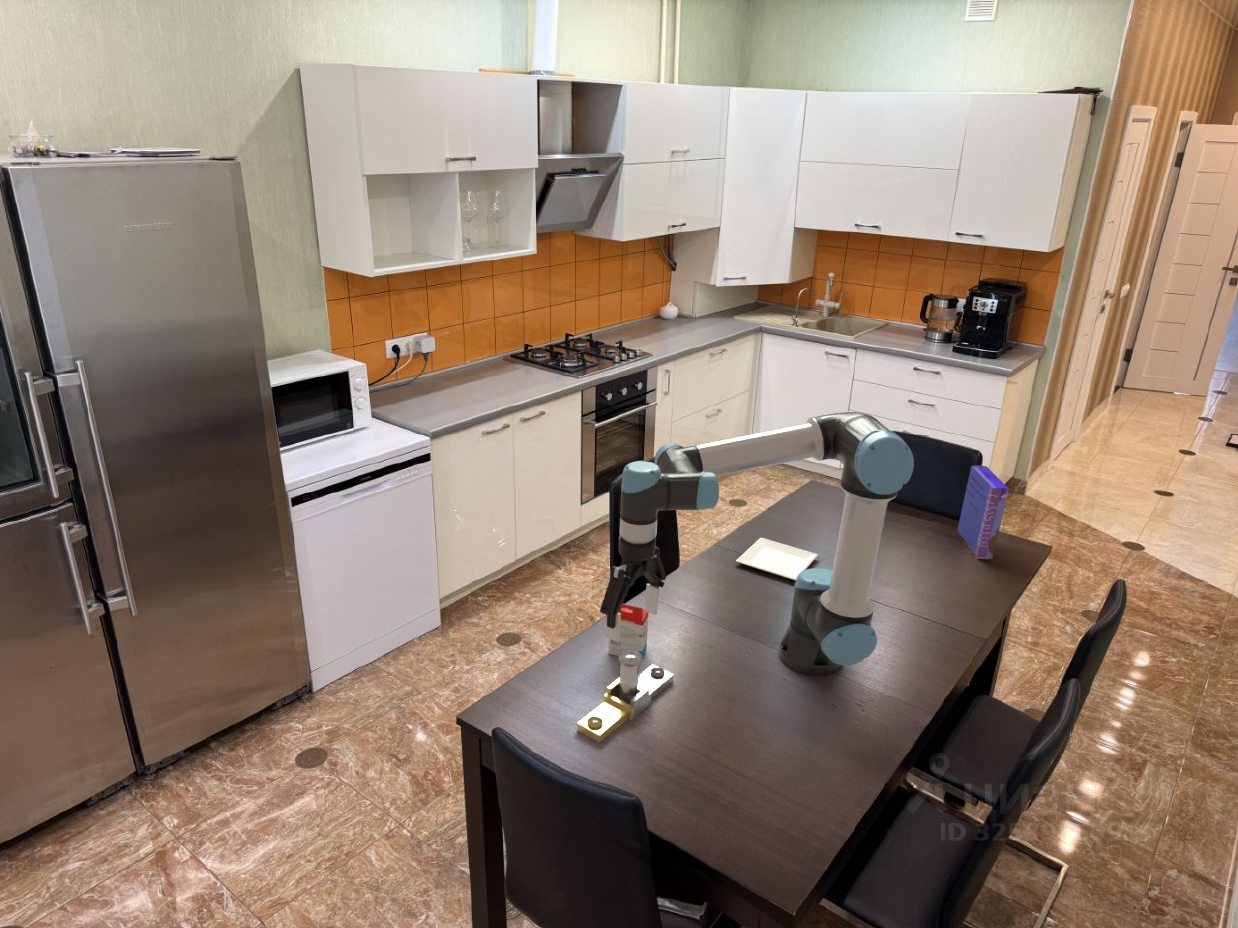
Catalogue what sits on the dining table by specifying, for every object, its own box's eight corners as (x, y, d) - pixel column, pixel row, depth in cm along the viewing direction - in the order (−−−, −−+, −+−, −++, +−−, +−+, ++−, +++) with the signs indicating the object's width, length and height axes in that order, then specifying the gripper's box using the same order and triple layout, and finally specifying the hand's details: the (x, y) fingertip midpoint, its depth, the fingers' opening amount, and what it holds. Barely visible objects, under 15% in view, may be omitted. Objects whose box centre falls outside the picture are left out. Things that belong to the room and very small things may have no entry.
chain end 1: (648, 705, 192) (649, 689, 190) (601, 744, 179) (602, 726, 178) (621, 692, 196) (622, 675, 194) (574, 728, 183) (574, 711, 182)
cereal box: (992, 560, 264) (1009, 488, 255) (976, 559, 264) (993, 487, 255) (971, 534, 280) (986, 465, 271) (956, 533, 280) (971, 465, 271)
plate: (817, 559, 259) (818, 553, 258) (795, 585, 244) (795, 579, 244) (759, 542, 268) (760, 536, 267) (734, 566, 253) (735, 560, 252)
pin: (643, 703, 192) (646, 655, 187) (629, 714, 188) (632, 665, 184) (625, 694, 195) (628, 646, 190) (611, 705, 191) (614, 656, 186)
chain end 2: (675, 682, 200) (677, 666, 198) (633, 718, 188) (634, 701, 186) (649, 670, 204) (650, 653, 202) (606, 703, 192) (607, 687, 190)
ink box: (646, 651, 211) (650, 599, 206) (640, 662, 207) (644, 609, 201) (614, 643, 214) (616, 591, 208) (607, 654, 209) (609, 601, 204)
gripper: (657, 511, 187) (651, 595, 195) (584, 551, 169) (581, 643, 177) (686, 521, 183) (679, 607, 191) (615, 564, 164) (610, 657, 173)
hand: (632, 625), depth 184 cm, fingers open, 13 cm apart
